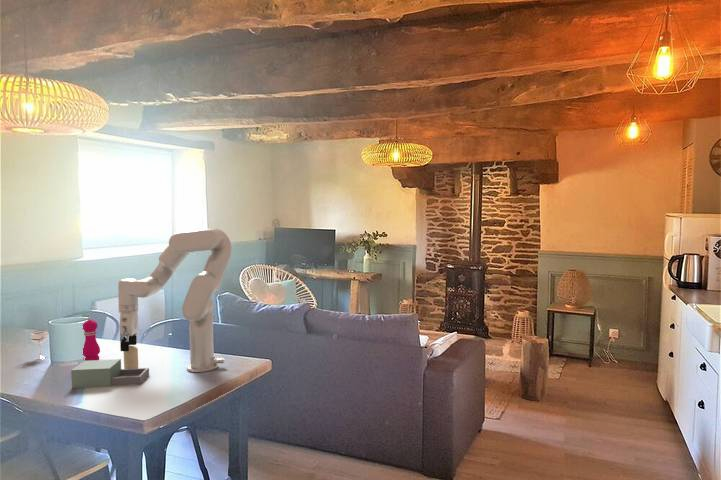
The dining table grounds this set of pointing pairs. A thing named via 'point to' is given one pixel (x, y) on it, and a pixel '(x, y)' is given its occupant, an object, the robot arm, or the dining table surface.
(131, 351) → the candle
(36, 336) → the wineglass
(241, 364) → the dining table surface
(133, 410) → the dining table surface
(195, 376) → the dining table surface
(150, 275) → the robot arm
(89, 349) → the pepper mill
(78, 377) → the green boxy piece
